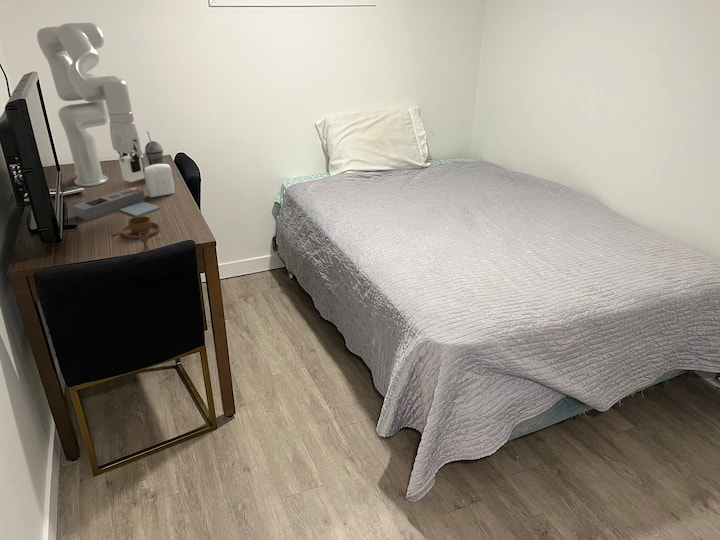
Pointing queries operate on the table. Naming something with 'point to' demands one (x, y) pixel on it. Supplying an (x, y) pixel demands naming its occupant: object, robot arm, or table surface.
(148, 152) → the beverage cup
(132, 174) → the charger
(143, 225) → the place setting
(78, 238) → the table surface
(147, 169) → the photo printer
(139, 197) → the power strip
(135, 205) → the mat
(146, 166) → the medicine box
